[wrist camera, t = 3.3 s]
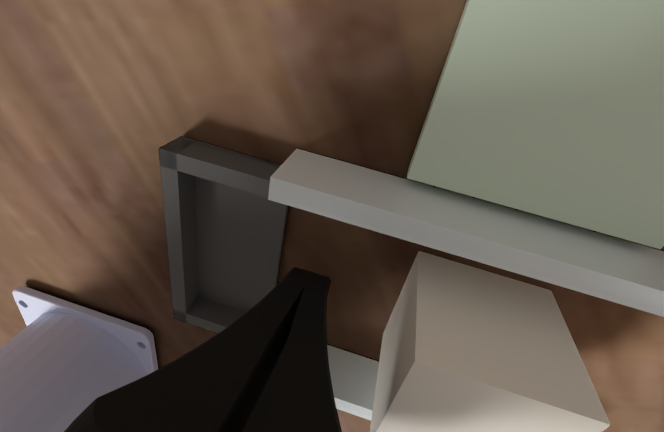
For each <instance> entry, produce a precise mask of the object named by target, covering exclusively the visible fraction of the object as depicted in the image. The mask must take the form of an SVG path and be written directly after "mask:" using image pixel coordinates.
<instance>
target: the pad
mask: <svg viewBox="0 0 664 432" xmlns="http://www.w3.org/2000/svg"><path fill="white" fill-rule="evenodd" d="M407 178H408V179H411V180H415V181H418V182H422V183H425V184H429V185H433V186H436V187H440V188H443V189H447V190H450V191H454V192H458V193H461V194H465V195H468V196H472V197H475V198H479V199H482V200H486V201H490V202H493V203H497V204H500V205H504V206H507V207H511V208H515V209H518V210H522V211H525V212H529V213H532V214H536V215H540V216H543V217H547V218H550V219H554V220H557V221H561V222H565V223H568V224H572V225H575V226H579V227H582V228H586V229H590V230H593V231H597V232H600V233H604V234H607V235H611V236H615V237H618V238H622V239H625V240H629V241H632V242H636V243H639V244H643V245H647V246H650V247H654V248H657V249H661V248H662V247H663V246H664V0H467V2H466V4H465V7H464V10H463V13H462V16H461V19H460V22H459V24H458V27H457V30H456V33H455V36H454V39H453V42H452V45H451V47H450V50H449V53H448V56H447V59H446V62H445V65H444V68H443V70H442V73H441V76H440V79H439V82H438V85H437V88H436V90H435V93H434V96H433V99H432V102H431V105H430V108H429V111H428V113H427V116H426V119H425V122H424V125H423V128H422V131H421V134H420V136H419V139H418V142H417V145H416V148H415V151H414V154H413V156H412V159H411V162H410V165H409V168H408V172H407Z"/></svg>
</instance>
